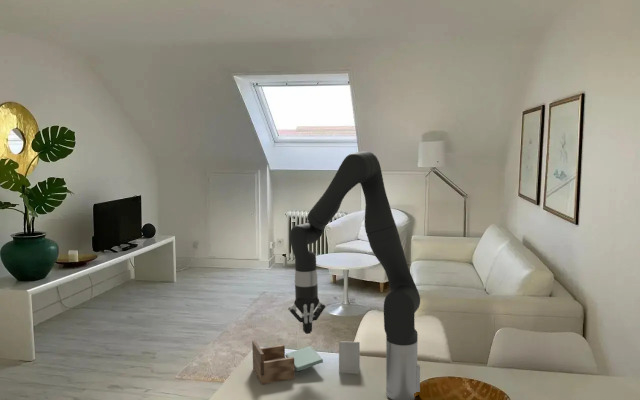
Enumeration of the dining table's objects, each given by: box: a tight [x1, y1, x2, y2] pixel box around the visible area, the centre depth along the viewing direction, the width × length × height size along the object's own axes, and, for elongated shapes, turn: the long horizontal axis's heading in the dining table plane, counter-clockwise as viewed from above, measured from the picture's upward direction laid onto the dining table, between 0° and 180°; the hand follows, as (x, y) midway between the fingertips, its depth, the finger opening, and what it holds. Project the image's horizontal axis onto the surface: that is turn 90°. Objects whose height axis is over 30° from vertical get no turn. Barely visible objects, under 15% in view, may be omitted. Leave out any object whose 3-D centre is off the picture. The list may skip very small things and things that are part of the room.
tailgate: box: [285, 345, 324, 372], centre depth 172 cm, size 1×12×10 cm
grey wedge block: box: [338, 340, 361, 374], centre depth 170 cm, size 4×7×10 cm, turn 84°
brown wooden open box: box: [251, 339, 296, 385], centre depth 168 cm, size 11×12×10 cm
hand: (307, 332), depth 171 cm, fingers closed
